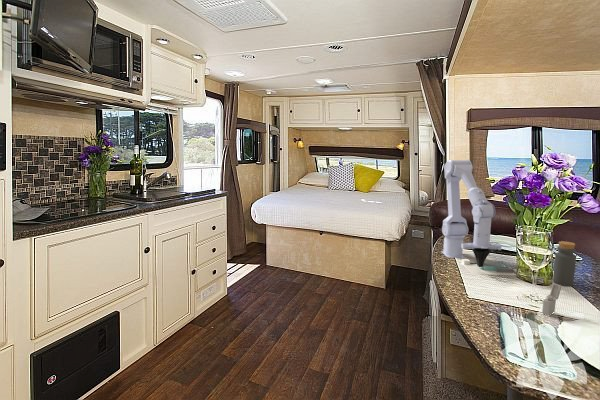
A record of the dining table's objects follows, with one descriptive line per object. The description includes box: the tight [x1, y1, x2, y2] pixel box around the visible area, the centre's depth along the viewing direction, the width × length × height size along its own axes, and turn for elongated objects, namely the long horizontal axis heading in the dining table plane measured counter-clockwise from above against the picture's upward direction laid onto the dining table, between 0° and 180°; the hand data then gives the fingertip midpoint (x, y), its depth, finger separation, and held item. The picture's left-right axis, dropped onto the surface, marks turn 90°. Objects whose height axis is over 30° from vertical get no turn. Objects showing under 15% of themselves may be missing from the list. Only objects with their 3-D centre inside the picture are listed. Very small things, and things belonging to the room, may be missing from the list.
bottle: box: [552, 240, 577, 287], centre depth 118 cm, size 6×6×15 cm
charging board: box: [459, 258, 518, 276], centre depth 133 cm, size 16×14×2 cm
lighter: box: [541, 283, 562, 316], centre depth 97 cm, size 7×2×8 cm, turn 122°
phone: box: [481, 261, 506, 271], centre depth 133 cm, size 8×5×2 cm, turn 83°
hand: (479, 266), depth 133 cm, fingers closed
